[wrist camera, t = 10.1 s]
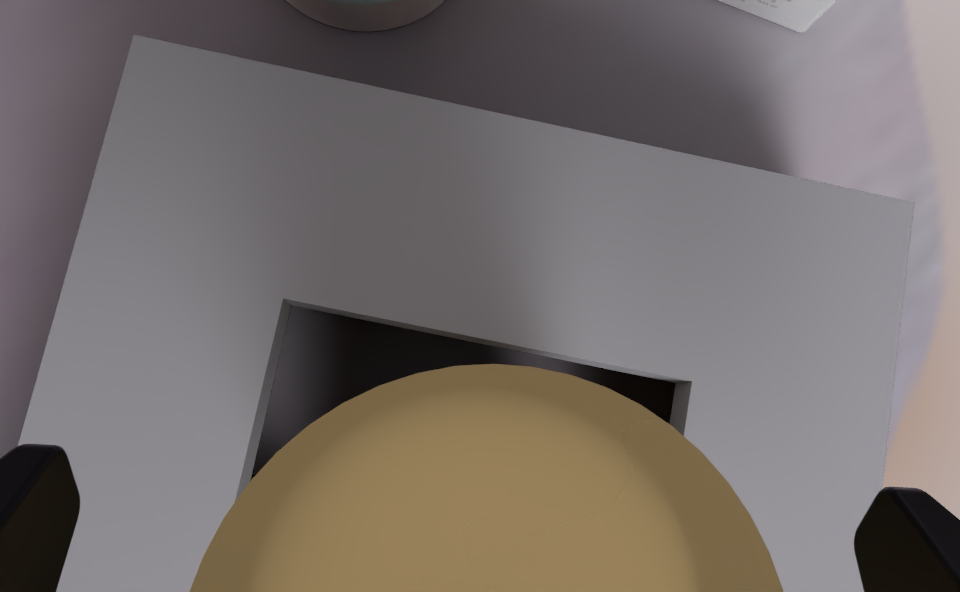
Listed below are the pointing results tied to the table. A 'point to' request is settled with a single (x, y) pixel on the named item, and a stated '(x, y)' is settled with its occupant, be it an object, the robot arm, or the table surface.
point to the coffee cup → (366, 12)
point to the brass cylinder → (488, 497)
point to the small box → (785, 11)
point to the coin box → (449, 296)
